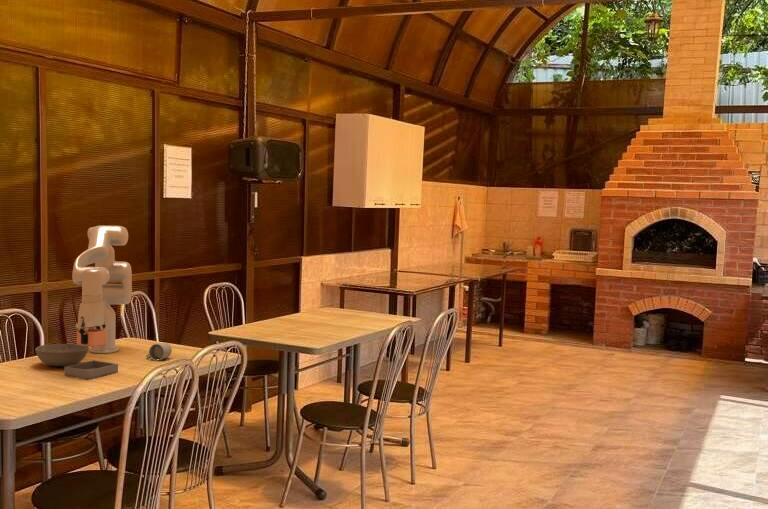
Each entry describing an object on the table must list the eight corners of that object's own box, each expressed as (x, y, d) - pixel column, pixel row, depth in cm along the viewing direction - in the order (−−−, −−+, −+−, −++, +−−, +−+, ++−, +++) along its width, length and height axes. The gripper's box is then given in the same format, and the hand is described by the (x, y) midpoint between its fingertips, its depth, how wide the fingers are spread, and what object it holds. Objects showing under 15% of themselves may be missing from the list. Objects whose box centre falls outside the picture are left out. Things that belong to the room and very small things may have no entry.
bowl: (26, 364, 319) (26, 346, 318) (74, 358, 334) (75, 340, 334) (48, 373, 304) (48, 353, 304) (97, 366, 320) (97, 347, 319)
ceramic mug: (172, 358, 341) (172, 341, 341) (163, 361, 333) (163, 344, 333) (151, 356, 343) (151, 340, 343) (142, 360, 336) (142, 343, 335)
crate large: (64, 375, 301) (64, 366, 301) (93, 368, 315) (93, 360, 315) (89, 379, 296) (89, 370, 296) (117, 372, 310) (118, 363, 310)
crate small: (76, 345, 303) (77, 330, 303) (90, 342, 310) (90, 328, 309) (93, 347, 300) (93, 332, 299) (106, 344, 306) (106, 330, 306)
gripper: (101, 296, 313) (100, 338, 314) (68, 300, 297) (67, 344, 298) (114, 297, 310) (114, 340, 311) (82, 302, 294) (81, 346, 295)
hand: (91, 342), depth 305 cm, fingers closed on crate small, 7 cm apart
